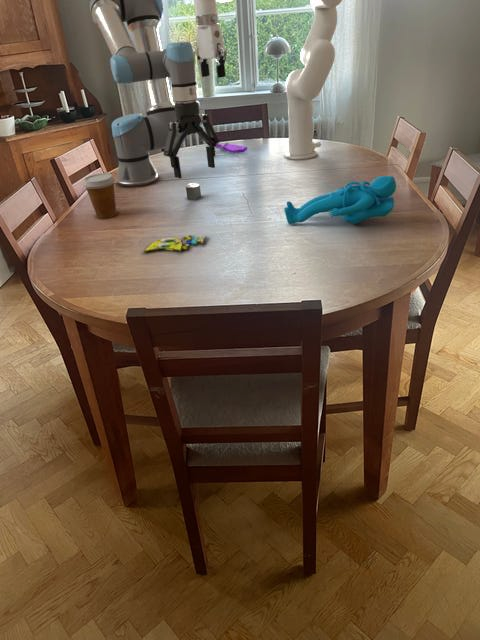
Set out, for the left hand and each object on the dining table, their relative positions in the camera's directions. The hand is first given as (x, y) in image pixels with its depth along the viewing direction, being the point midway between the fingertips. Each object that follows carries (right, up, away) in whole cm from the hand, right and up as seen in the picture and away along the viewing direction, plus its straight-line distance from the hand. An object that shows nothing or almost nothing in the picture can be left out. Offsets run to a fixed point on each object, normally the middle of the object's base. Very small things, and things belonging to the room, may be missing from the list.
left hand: (195, 172), depth 156 cm
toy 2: (+42, -20, -20) cm, 51 cm away
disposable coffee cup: (-29, -14, -1) cm, 32 cm away
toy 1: (-3, -28, -25) cm, 37 cm away
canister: (-1, -7, +7) cm, 10 cm away
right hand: (+5, +40, +18) cm, 44 cm away
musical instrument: (+7, +27, +58) cm, 64 cm away
